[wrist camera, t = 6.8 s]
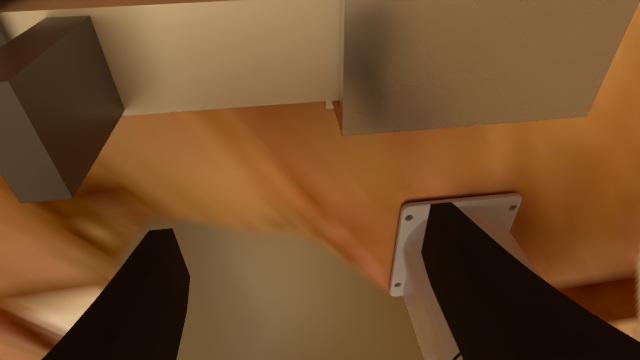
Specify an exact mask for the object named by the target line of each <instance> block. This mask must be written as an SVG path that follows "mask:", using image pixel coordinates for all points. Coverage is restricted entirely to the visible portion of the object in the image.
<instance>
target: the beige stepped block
mask: <svg viewBox="0 0 640 360" xmlns="http://www.w3.org/2000/svg"><path fill="white" fill-rule="evenodd" d="M639 1H640V0H341V44H340V100H335V101H324V105H325V108H326V109H334V111H335V114H336V117H337V121H338V124H339V127H340V130H341V134H342V136H346V135H359V134H371V133H384V132H397V131H409V130H422V129H434V128H447V127H460V126H472V125H485V124H497V123H510V122H523V121H535V120H548V119H561V118H573V117H586V116H587V114H588V112H589V110H590V108H591V106H592V104H593V101H594V99H595V97H596V95H597V93H598V91H599V88H600V86H601V84H602V82H603V80H604V77H605V75H606V73H607V71H608V69H609V67H610V64H611V62H612V60H613V58H614V56H615V54H616V51H617V49H618V47H619V45H620V43H621V41H622V38H623V36H624V34H625V32H626V30H627V27H628V25H629V23H630V21H631V19H632V17H633V14H634V12H635V10H636V8H637V6H638V4H639Z"/></svg>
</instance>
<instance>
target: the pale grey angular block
mask: <svg viewBox="0 0 640 360" xmlns="http://www.w3.org/2000/svg"><path fill="white" fill-rule="evenodd" d="M0 30H1V32H2V34H3V36H4V37H5V39H6V41H7V43H6V44H4V45H3V46H1V47H0V173H1V175H2V176H3V178H4V179H5V181H6V182H7V184H8V185H9V187H10V188H11V190H12V191H13V193H14V194H15V196H16V197H17V199H18V200H19V202H20V203H27V202H39V201H50V200H62V199H73V197H74V196H75V194H76V192H77V191H78V189H79V187H80V186H81V184H82V182H83V180H84V179H85V177H86V175H87V174H88V172H89V170H90V169H91V167H92V165H93V163H94V162H95V160H96V158H97V157H98V155H99V153H100V152H101V150H102V148H103V146H104V145H105V143H106V141H107V140H108V138H109V136H110V135H111V133H112V131H113V129H114V128H115V126H116V124H117V123H118V121H119V119H120V118H121V116H127V115H141V114H155V113H169V112H183V111H197V110H210V109H224V108H238V107H252V106H266V105H280V104H294V103H308V102H322V101H335V100H340V44H341V0H0Z"/></svg>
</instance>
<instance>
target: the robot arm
mask: <svg viewBox="0 0 640 360" xmlns="http://www.w3.org/2000/svg"><path fill="white" fill-rule="evenodd" d="M521 202H522V198H521V196H520V195H519V194H518V193H509V194H499V195H488V196H478V197H467V198H456V199H446V200H435V201H424V202H414V203H407V204H405V205H403V206H402V208H401V212H400V219H399V226H398V232H397V239H396V246H395V252H394V259H393V266H392V273H391V279H390V286H389V292H390V295H391V296H403V297H404V300H405V303H406V306H407V309H408V311H409V315H410V317H411V321H412V323H413V327H414V330H415V333H416V336H417V339H418V342H419V345H420V348H421V351H422V354H423V357H424V360H640V342H639V341H637V340H635V339H634V338H632V337H630V336H629V335H627V334H625V333H624V332H622V331H620V330H618V329H617V328H615V327H613V326H612V325H610V324H608V323H607V322H605V321H604V320H602V319H600V318H599V317H597V316H596V315H594V314H592V313H591V312H589V311H588V310H586V309H585V308H583V307H582V306H580V305H579V304H577V303H576V302H574V301H573V300H571V299H570V298H568V297H567V296H565V295H564V294H563V293H561V292H560V291H558V290H557V289H556V288H554V287H553V286H551V285H550V284H549V283H547V282H546V281H545V280H543V279H542V278H541V276H540V275H539V273H538V272H537V271H536V269H535V268H534V266H533V265H532V263H531V262H530V260H529V259H528V258H527V256H526V255H525V253H524V252H523V250H522V249H521V247H520V246H519V245H518V243H517V242H516V240H515V239H514V237H513V236H512V234H511V233H510V229H511V227H512V224H513V222H514V219H515V217H516V214H517V212H518V209H519V207H520V204H521ZM408 215H410V216H408ZM406 216H408V217H406ZM189 280H190V275H189V272H188V270H187V267H186V264H185V262H184V259H183V256H182V254H181V251H180V248H179V245H178V243H177V240H176V237H175V234H174V232H173V229H172V228H171V229H161V230H150V231H149V232H148V233H147V234H146V235H145V236H144V238H143V239H142V240H141V242H140V243H139V244H138V246H137V247H136V248H135V250H134V251H133V252H132V254H131V255H130V256H129V258H128V259H127V260H126V262H125V263H124V264H123V265H122V267H121V268H120V269H119V271H118V272H117V273H116V275H115V276H114V277H113V278H112V280H111V281H110V282H109V283H108V285H107V286H106V287H105V288H104V290H103V291H102V292H101V293H100V295H99V296H98V297H97V298H96V300H95V301H94V302H93V303H92V304H91V306H90V307H89V308H88V309H87V310H86V311H85V312H84V314H83V315H82V316H81V317H80V318H79V319H78V321H77V322H76V323H75V324H74V325H73V326H72V327H71V329H70V330H69V331H68V332H67V333H66V334H65V335H64V336H63V338H62V339H61V340H60V341H59V342H58V343H57V344H56V345H55V346H54V347H53V348H52V349H51V350H50V351H49V352H48V353H47V355H46V356H45V357H44V358H43V359H42V360H176V358H177V354H178V349H179V345H180V340H181V336H182V331H183V327H184V322H185V317H186V313H187V304H188V294H189V283H190V281H189Z"/></svg>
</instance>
